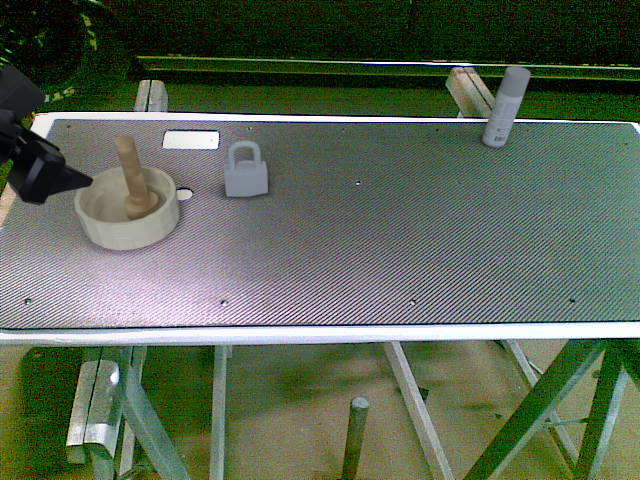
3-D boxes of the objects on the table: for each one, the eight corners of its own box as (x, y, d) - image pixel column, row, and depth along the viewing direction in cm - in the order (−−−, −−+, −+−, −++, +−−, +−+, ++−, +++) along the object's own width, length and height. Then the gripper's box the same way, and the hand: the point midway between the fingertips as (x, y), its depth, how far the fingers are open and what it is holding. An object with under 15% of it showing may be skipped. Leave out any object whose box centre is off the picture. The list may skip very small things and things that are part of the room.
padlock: (265, 181, 84) (263, 132, 77) (268, 195, 82) (267, 146, 75) (225, 184, 83) (219, 135, 76) (226, 199, 80) (221, 149, 73)
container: (507, 139, 99) (534, 70, 88) (501, 150, 96) (528, 79, 85) (485, 132, 100) (509, 63, 90) (478, 142, 97) (502, 72, 87)
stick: (130, 226, 74) (108, 154, 64) (123, 206, 77) (101, 135, 67) (164, 217, 75) (147, 146, 66) (156, 198, 79) (139, 127, 69)
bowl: (93, 264, 69) (82, 237, 65) (79, 204, 77) (68, 177, 73) (191, 236, 74) (186, 209, 70) (167, 183, 82) (162, 157, 79)
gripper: (10, 87, 44) (141, 143, 58) (-59, 25, 53) (69, 87, 67) (-42, 189, 46) (98, 220, 59) (-101, 113, 54) (33, 156, 68)
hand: (74, 166), depth 63 cm, fingers open, 9 cm apart
